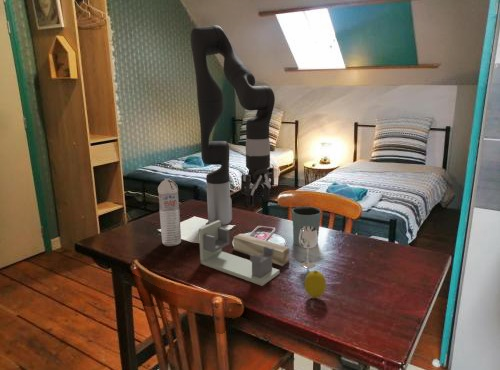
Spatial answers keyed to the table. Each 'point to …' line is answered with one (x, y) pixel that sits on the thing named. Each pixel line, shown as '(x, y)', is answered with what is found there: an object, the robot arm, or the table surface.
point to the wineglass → (308, 242)
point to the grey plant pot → (304, 220)
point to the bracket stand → (214, 257)
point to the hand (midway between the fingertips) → (258, 202)
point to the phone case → (266, 227)
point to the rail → (260, 248)
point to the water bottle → (169, 212)
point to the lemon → (315, 284)
